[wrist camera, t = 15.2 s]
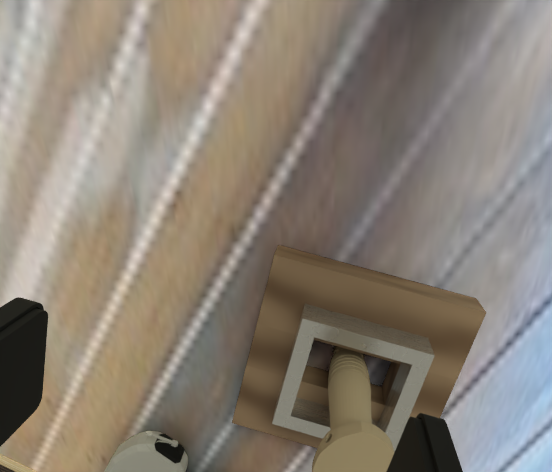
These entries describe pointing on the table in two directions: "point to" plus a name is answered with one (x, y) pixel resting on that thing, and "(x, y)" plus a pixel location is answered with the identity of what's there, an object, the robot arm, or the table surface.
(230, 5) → the table surface
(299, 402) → the collar
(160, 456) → the robot toy
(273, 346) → the board
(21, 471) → the hardcover book
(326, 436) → the handle
